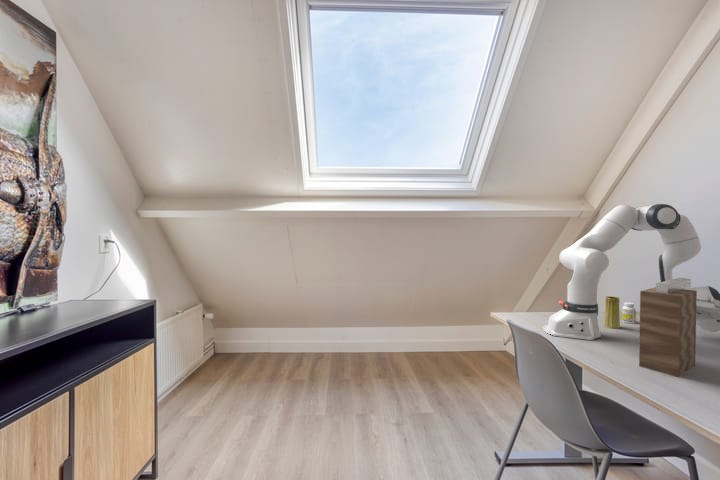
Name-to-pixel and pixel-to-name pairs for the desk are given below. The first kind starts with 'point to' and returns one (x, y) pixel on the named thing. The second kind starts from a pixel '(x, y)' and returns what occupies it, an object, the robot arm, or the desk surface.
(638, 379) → the desk surface
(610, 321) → the vase
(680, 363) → the pedestal
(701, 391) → the desk surface
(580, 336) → the robot arm
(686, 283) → the block
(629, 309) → the supplement bottle
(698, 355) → the desk surface
